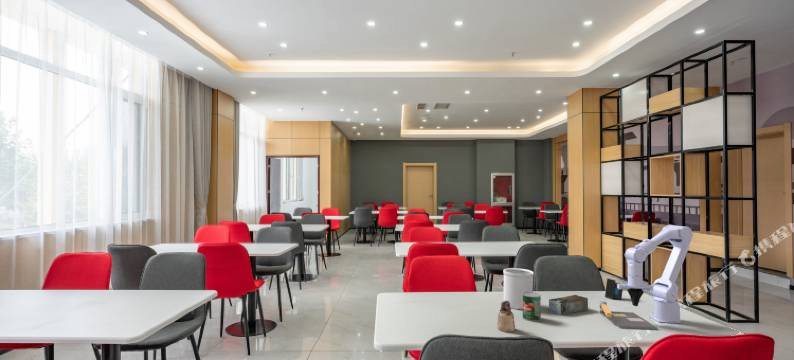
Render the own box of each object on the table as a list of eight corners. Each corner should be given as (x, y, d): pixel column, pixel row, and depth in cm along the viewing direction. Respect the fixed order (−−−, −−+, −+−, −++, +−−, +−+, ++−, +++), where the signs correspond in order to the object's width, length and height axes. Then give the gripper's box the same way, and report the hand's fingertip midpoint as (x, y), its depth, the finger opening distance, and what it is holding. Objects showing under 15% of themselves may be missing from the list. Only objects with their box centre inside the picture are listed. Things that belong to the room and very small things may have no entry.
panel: (632, 314, 192) (632, 309, 192) (657, 329, 171) (657, 324, 171) (599, 312, 194) (599, 307, 194) (619, 328, 173) (619, 322, 173)
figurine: (511, 326, 173) (512, 298, 173) (517, 332, 166) (517, 303, 166) (495, 326, 173) (495, 298, 173) (500, 332, 166) (500, 302, 166)
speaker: (609, 299, 217) (611, 280, 218) (604, 297, 223) (606, 278, 224) (624, 301, 217) (625, 281, 217) (618, 298, 222) (620, 279, 223)
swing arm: (599, 306, 194) (599, 301, 194) (606, 307, 193) (606, 301, 194) (605, 317, 178) (605, 311, 178) (613, 318, 177) (613, 312, 177)
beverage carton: (547, 311, 196) (547, 297, 196) (575, 306, 205) (575, 293, 205) (560, 315, 189) (561, 301, 189) (589, 310, 198) (589, 297, 198)
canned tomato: (542, 317, 185) (542, 293, 186) (538, 322, 179) (538, 297, 179) (524, 314, 189) (524, 291, 190) (520, 319, 183) (520, 294, 183)
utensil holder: (529, 302, 211) (529, 268, 211) (536, 310, 196) (536, 274, 196) (500, 301, 212) (501, 267, 213) (505, 309, 197) (505, 273, 198)
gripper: (647, 273, 184) (647, 303, 184) (614, 272, 186) (614, 302, 186) (655, 277, 177) (655, 308, 177) (621, 276, 179) (621, 306, 179)
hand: (635, 305), depth 181 cm, fingers closed
